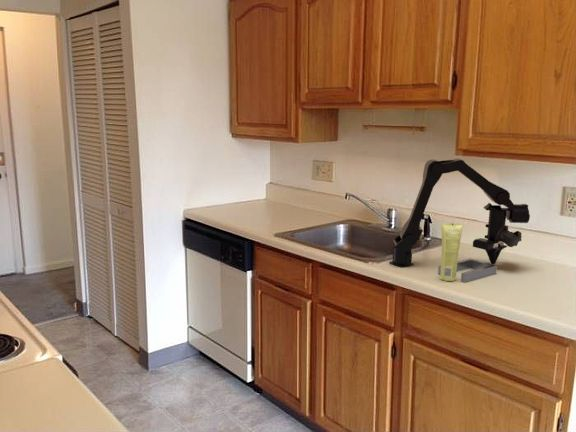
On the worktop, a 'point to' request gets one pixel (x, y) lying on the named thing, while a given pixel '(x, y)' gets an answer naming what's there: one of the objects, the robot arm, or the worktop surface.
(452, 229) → the tube
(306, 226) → the worktop surface
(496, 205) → the robot arm
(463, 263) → the u collar
